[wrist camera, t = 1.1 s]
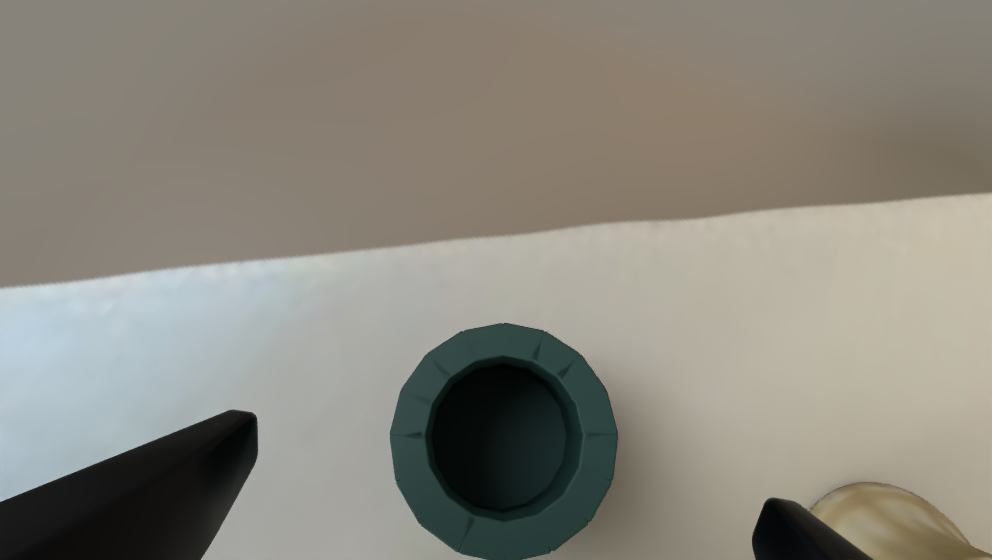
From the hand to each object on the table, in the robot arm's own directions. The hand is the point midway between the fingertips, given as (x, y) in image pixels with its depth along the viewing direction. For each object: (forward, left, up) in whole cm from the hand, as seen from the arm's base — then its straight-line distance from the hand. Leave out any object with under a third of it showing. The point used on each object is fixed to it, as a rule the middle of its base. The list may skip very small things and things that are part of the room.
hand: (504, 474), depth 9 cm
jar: (0, -1, -15) cm, 15 cm away
